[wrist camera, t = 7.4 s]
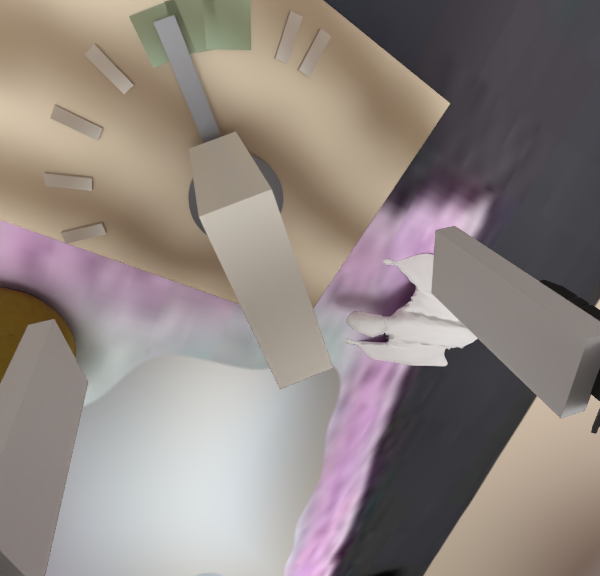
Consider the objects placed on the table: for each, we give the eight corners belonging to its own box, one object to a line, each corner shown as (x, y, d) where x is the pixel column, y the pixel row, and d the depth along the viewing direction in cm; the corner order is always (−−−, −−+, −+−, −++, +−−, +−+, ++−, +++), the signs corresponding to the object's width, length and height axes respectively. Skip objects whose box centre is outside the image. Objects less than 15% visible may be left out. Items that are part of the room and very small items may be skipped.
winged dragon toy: (538, 278, 36) (576, 305, 33) (477, 368, 40) (506, 400, 37) (359, 234, 29) (384, 261, 26) (309, 348, 33) (325, 384, 30)
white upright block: (219, 271, 25) (245, 403, 16) (107, 38, 18) (47, 49, 9) (298, 240, 25) (366, 354, 16) (219, -1, 18) (264, -26, 9)
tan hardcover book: (292, 305, 30) (302, 328, 28) (-87, 163, 20) (-119, 181, 18) (427, 97, 25) (453, 104, 23) (3, -240, 15) (-28, -288, 13)
